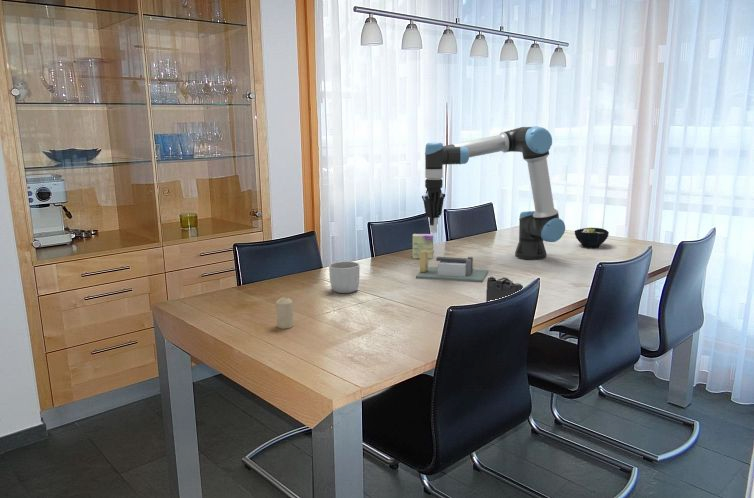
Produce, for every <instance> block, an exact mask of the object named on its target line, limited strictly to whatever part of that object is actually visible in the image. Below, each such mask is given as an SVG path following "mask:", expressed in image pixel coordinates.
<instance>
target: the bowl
mask: <svg viewBox="0 0 754 498" xmlns="http://www.w3.org/2000/svg"><path fill="white" fill-rule="evenodd" d="M609 234H610V233H609V231H608V230H607V229H604V228H599V227H584V228H579V229H578V228H577V229H575V230H574V236H575V238H576V240H577V241H578V242H579V243H580V244H581V246H582V247H583V248H587V249H598V248H600V247H601V245H602V244H603V243H604V242H605V241H606V240H607V239H608V237H609Z"/></svg>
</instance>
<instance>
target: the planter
mask: <svg viewBox="0 0 754 498" xmlns="http://www.w3.org/2000/svg"><path fill="white" fill-rule="evenodd" d="M328 268H329V283H330V287H331V290H332V291H334V292H335V293H338V294H350V293H354V292H355V291H357V290H358V289H359V287H360V263H358V262H355V261H336V262H332V263H330V264H329V265H328Z"/></svg>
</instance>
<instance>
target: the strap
mask: <svg viewBox="0 0 754 498" xmlns="http://www.w3.org/2000/svg"><path fill="white" fill-rule="evenodd" d="M435 259H436V260H435V261H436V262H437V261H438V262H440V261H449V262H465V263H466V259H470V260H471V261H472V259H471V258H468V257H466V258H465V257H452V256H451V257H449V256H437V257H436V258H435Z"/></svg>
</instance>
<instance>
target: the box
mask: <svg viewBox="0 0 754 498" xmlns="http://www.w3.org/2000/svg"><path fill="white" fill-rule="evenodd" d="M422 250H434V233H413V234H412V259H420V252H421V251H422ZM429 259H432V260H433V259H434V253H433V254H428V260H429Z"/></svg>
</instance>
